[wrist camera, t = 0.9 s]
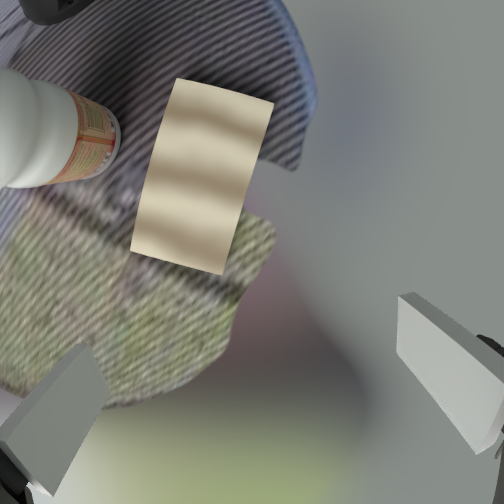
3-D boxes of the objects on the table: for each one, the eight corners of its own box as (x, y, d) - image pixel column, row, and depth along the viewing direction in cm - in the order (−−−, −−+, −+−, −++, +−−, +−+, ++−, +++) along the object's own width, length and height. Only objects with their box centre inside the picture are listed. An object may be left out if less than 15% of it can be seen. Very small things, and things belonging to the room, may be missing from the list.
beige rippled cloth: (180, 85, 30) (176, 78, 27) (270, 108, 32) (274, 103, 29) (137, 244, 35) (130, 250, 32) (222, 266, 36) (222, 275, 34)
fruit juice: (111, 186, 32) (-85, 246, 6) (52, 170, 31) (-131, 206, 4) (133, 111, 30) (-42, 23, 3) (71, 101, 29) (-102, 52, 2)
